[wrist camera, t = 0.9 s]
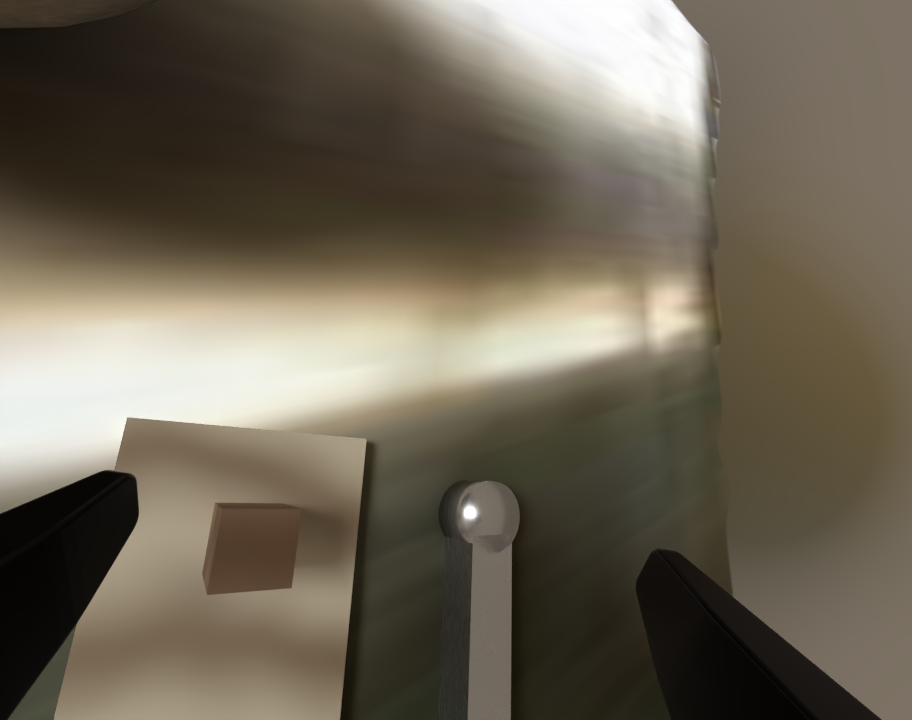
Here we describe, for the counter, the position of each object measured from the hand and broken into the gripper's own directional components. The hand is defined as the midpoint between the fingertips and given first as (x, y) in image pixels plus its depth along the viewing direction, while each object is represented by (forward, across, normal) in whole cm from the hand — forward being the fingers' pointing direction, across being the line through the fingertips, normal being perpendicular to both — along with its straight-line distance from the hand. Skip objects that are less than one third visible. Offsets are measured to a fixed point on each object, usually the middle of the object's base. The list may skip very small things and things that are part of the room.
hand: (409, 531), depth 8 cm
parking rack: (+8, +6, +16) cm, 19 cm away
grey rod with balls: (+12, -6, +19) cm, 23 cm away
